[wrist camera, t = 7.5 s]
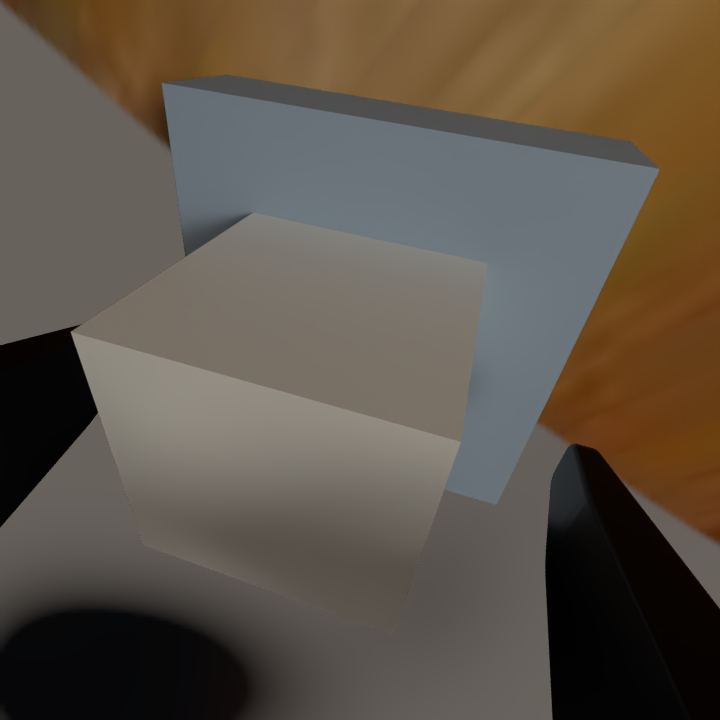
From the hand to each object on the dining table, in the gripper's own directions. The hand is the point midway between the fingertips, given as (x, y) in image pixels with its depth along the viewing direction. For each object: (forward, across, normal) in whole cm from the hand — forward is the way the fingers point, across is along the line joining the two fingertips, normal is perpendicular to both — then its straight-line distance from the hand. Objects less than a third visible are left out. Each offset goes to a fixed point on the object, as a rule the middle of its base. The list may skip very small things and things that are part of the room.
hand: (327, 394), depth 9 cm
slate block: (+5, 0, 0) cm, 5 cm away
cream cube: (+2, 0, 0) cm, 2 cm away
